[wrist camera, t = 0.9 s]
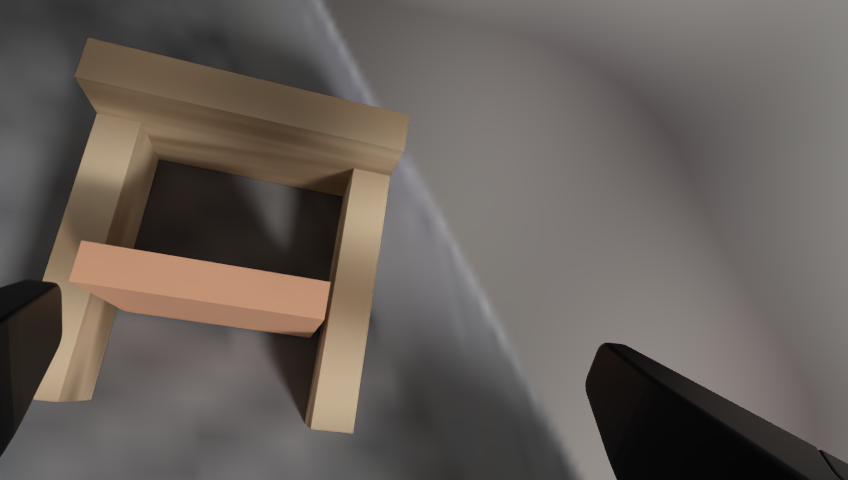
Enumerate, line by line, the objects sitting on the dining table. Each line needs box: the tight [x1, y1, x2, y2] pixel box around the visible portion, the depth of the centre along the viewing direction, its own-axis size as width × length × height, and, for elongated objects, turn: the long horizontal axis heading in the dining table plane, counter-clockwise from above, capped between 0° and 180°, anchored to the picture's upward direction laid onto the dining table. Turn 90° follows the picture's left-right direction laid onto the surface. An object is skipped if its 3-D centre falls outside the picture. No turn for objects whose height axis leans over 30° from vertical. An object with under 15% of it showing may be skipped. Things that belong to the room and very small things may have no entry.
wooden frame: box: [33, 38, 409, 433], centre depth 20 cm, size 12×11×6 cm
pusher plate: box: [69, 240, 331, 338], centre depth 19 cm, size 1×7×6 cm, turn 84°
